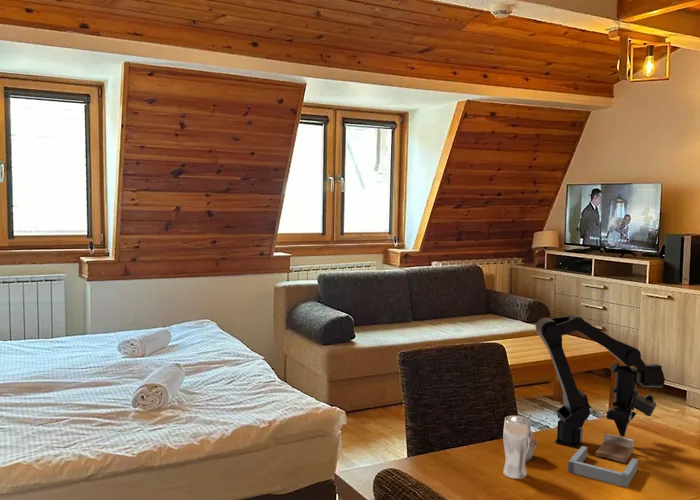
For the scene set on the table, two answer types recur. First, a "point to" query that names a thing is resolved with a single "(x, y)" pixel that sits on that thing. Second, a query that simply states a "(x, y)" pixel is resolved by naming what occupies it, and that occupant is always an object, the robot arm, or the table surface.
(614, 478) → the bay
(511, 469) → the beer glass
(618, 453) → the l-shaped bracket
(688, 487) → the table surface
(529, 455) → the cupcake
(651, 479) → the table surface
